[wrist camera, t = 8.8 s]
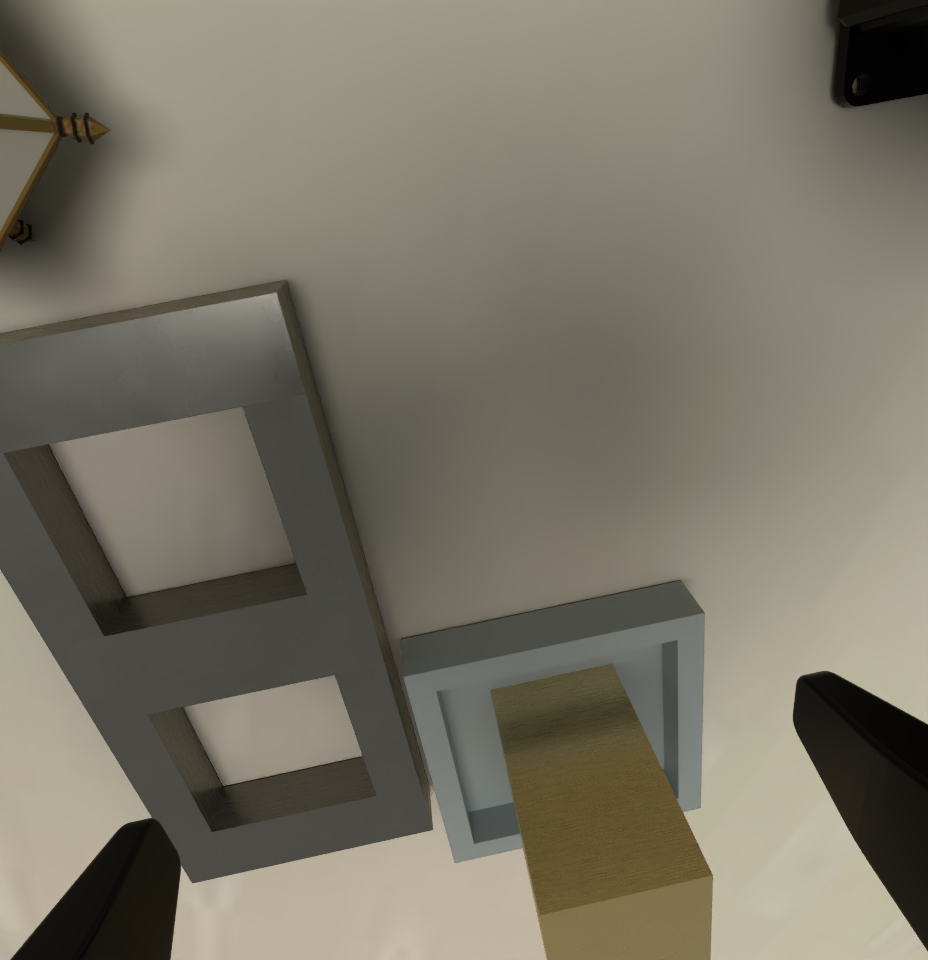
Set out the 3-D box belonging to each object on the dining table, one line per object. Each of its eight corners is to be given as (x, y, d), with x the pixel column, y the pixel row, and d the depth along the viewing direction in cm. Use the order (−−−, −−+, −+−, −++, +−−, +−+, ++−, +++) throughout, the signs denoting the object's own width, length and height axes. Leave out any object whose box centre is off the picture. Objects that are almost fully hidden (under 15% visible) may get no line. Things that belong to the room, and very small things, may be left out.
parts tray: (680, 580, 24) (704, 612, 23) (681, 769, 30) (700, 807, 28) (401, 639, 24) (403, 676, 22) (450, 820, 29) (454, 863, 27)
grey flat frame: (286, 280, 18) (276, 292, 16) (429, 787, 28) (433, 830, 26) (-73, 347, 17) (-123, 367, 16) (204, 836, 28) (192, 883, 26)
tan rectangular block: (612, 663, 25) (712, 875, 18) (618, 748, 28) (709, 967, 20) (490, 690, 25) (539, 915, 18) (506, 773, 27) (556, 1004, 20)
